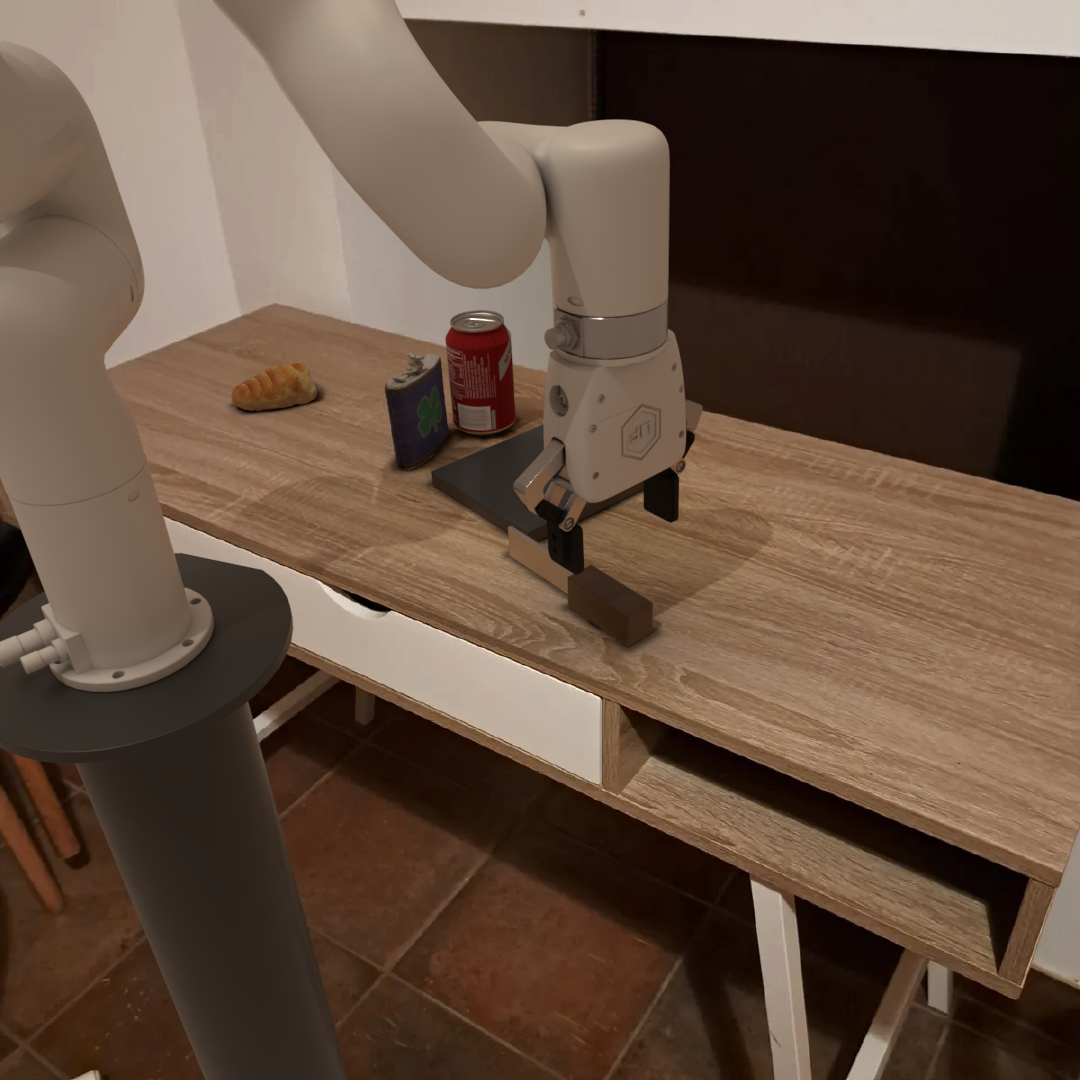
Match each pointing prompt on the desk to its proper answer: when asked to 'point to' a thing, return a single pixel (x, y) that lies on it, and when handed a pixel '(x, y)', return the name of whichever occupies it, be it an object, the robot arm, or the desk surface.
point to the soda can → (480, 372)
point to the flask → (417, 411)
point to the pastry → (276, 388)
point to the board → (507, 484)
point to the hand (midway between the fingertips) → (615, 539)
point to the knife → (589, 592)
